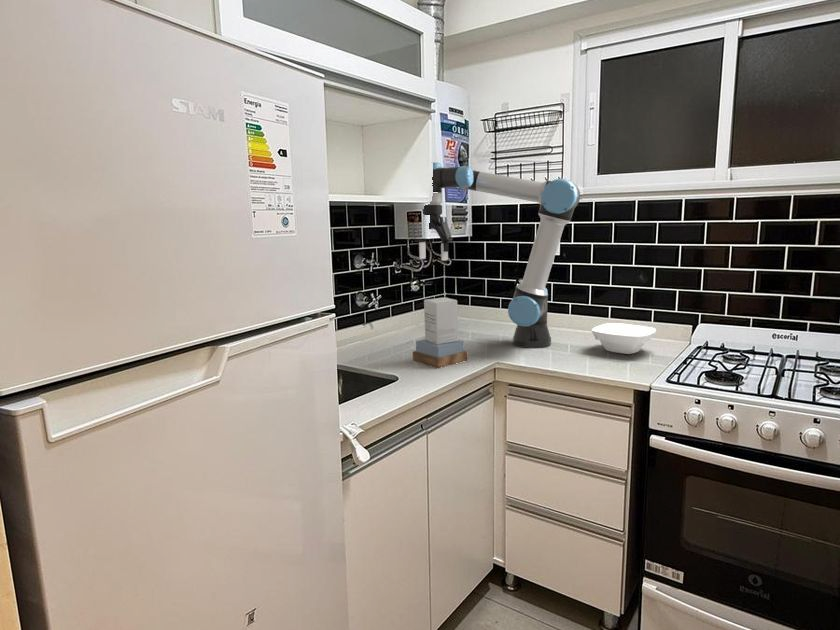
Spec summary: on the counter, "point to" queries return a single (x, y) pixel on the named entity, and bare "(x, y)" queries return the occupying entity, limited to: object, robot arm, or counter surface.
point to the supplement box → (441, 320)
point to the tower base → (439, 359)
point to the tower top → (439, 348)
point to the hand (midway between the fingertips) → (433, 259)
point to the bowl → (623, 337)
